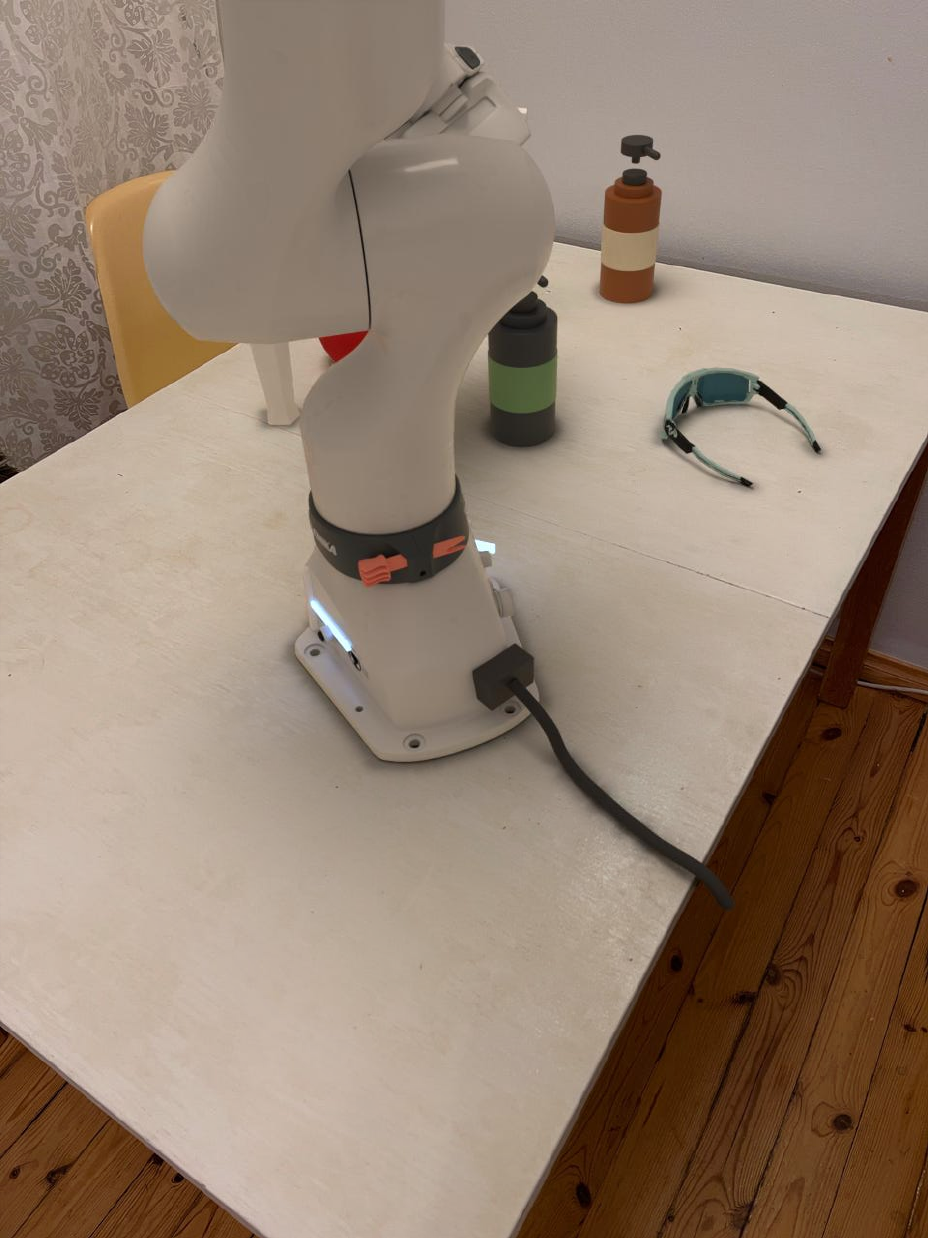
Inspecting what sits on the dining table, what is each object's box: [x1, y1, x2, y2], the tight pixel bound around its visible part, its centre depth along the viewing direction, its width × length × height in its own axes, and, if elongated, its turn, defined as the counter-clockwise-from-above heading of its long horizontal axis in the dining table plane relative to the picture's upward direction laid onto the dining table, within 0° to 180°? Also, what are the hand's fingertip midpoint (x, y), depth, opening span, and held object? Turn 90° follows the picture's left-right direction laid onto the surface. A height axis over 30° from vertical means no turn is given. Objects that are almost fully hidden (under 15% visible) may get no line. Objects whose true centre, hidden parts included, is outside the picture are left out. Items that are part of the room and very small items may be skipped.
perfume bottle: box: [249, 342, 301, 426], centre depth 105 cm, size 5×4×15 cm
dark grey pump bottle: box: [487, 290, 558, 448], centre depth 100 cm, size 7×7×15 cm
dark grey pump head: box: [620, 134, 662, 165], centre depth 116 cm, size 7×4×3 cm, turn 23°
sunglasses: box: [660, 366, 822, 488], centre depth 101 cm, size 14×15×5 cm
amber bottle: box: [599, 168, 663, 304], centre depth 124 cm, size 7×7×15 cm
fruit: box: [318, 330, 369, 363], centre depth 115 cm, size 9×9×10 cm
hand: (521, 219), depth 90 cm, fingers closed
